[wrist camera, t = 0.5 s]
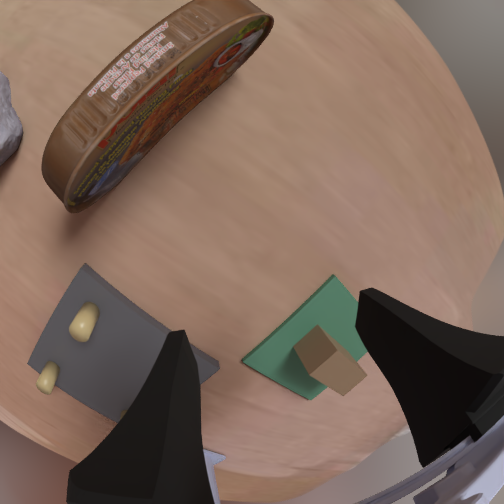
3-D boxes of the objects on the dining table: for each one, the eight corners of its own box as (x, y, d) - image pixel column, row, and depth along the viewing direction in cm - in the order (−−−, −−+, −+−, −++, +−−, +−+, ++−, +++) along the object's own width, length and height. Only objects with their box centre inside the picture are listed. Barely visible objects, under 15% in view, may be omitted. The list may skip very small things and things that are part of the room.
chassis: (137, 425, 24) (136, 453, 20) (30, 357, 19) (16, 382, 15) (218, 361, 23) (224, 393, 19) (85, 262, 18) (65, 285, 14)
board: (307, 394, 28) (324, 425, 23) (240, 355, 24) (252, 393, 19) (379, 330, 27) (405, 355, 22) (329, 271, 23) (360, 297, 18)
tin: (103, 204, 17) (48, 236, 9) (75, 175, 16) (7, 190, 8) (258, 57, 16) (302, 1, 8) (228, 30, 14) (255, -36, 7)
